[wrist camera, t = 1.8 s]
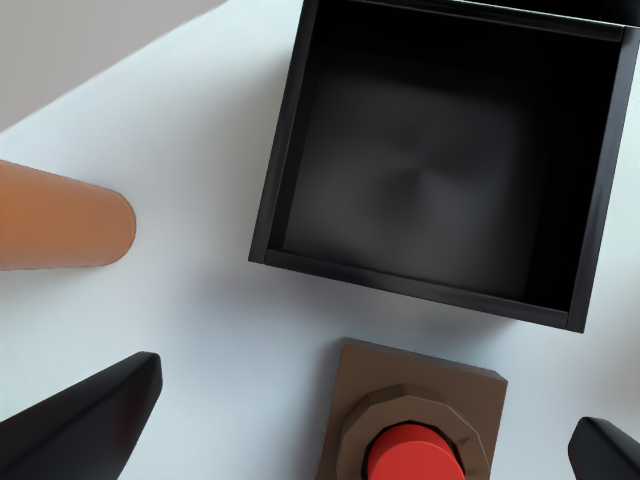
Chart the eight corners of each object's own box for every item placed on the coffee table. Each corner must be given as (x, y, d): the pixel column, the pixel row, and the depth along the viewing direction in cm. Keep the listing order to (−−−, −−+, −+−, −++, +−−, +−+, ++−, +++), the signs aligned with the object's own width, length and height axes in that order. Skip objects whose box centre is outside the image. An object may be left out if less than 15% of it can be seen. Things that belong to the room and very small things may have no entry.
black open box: (528, 315, 21) (584, 334, 16) (269, 259, 22) (247, 261, 17) (574, 80, 22) (643, 28, 17) (316, 38, 23) (308, -23, 18)
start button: (446, 522, 18) (456, 551, 16) (359, 499, 18) (360, 525, 17) (463, 435, 18) (475, 454, 16) (376, 414, 19) (379, 430, 17)
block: (461, 542, 21) (484, 599, 17) (309, 501, 22) (302, 549, 18) (495, 371, 21) (525, 394, 18) (344, 336, 22) (343, 352, 18)
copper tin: (104, 284, 23) (-205, 323, 10) (44, 234, 24) (-326, 209, 11) (154, 219, 23) (-93, 175, 10) (93, 170, 23) (-219, 66, 10)
